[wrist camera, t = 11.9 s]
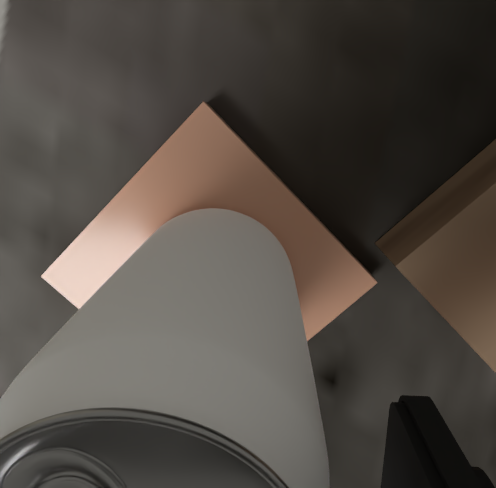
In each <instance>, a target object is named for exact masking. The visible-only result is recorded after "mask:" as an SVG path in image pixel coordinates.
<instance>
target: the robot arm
mask: <svg viewBox="0 0 496 488" xmlns="http://www.w3.org/2000/svg"><path fill="white" fill-rule="evenodd" d="M381 488H495V487H494V485H493V484H492V482H491V481H490V479H489V477H488V476H487V475H486V473H485V472H484V471H483V470H482V469H480V468H479V467H471V466H470V464H469V462H468V460H467V459H466V457H465V455H464V454H463V452H462V450H461V448H460V447H459V445H458V443H457V442H456V440H455V438H454V437H453V435H452V433H451V431H450V430H449V428H448V426H447V425H446V423H445V421H444V420H443V418H442V416H441V414H440V413H439V411H438V409H437V408H436V406H435V404H434V403H433V401H432V399H431V398H430V397H428V396H403V395H402V396H400V398H399V402H392V403H391V405H390V409H389V419H388V428H387V437H386V446H385V455H384V464H383V473H382V482H381Z"/></svg>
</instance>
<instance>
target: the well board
mask: <svg viewBox="0 0 496 488" xmlns="http://www.w3.org/2000/svg"><path fill="white" fill-rule="evenodd" d="M375 244H376V245H377V246H378V248H379V249H380V250H381V251H382V252H383V253H384V254H385V255H386V256H387V258H388V259H389V260H390V261H391V262H392V263H393V264H394V265H395V266H396V267H397V269H398V270H399V271H400V272H401V273H402V274H403V275H404V276H405V277H406V278H407V279H408V280H409V281H410V282H411V283H412V284H413V286H414V287H415V288H416V289H417V290H418V291H419V292H420V293H421V294H422V295H423V296H424V297H425V298H426V299H427V300H428V301H429V303H430V304H431V305H432V306H433V307H434V308H435V309H436V310H437V311H438V312H439V313H440V314H441V315H442V316H443V317H444V318H445V320H446V321H447V322H448V323H449V324H450V325H451V326H452V327H453V328H454V329H455V330H456V331H457V332H458V333H459V334H460V336H461V337H462V338H463V339H464V340H465V341H466V342H467V343H468V344H469V345H470V346H471V347H472V348H473V349H474V350H475V351H476V353H477V354H478V355H479V356H480V357H481V358H482V359H483V360H484V361H485V362H486V363H487V364H488V365H489V366H490V367H491V368H492V370H493V371H494V372H495V373H496V139H495V140H494V141H493V142H492V143H491V144H489V145H488V146H487V147H486V148H485V149H484V150H482V151H481V152H480V153H479V154H478V155H477V156H475V157H474V158H473V159H472V160H471V161H470V162H468V163H467V164H466V165H465V166H464V167H463V168H461V169H460V170H459V171H458V172H457V173H456V174H454V175H453V176H452V177H451V178H450V179H449V180H447V181H446V182H445V183H444V184H443V185H442V186H441V187H439V188H438V189H437V190H436V191H435V192H434V193H432V194H431V195H430V196H429V197H428V198H427V199H425V200H424V201H423V202H422V203H421V204H420V205H418V206H417V207H416V208H415V209H414V210H413V211H411V212H410V213H409V214H408V215H407V216H406V217H404V218H403V219H402V220H401V221H400V222H399V223H397V224H396V225H395V226H394V227H393V228H392V229H390V230H389V231H388V232H387V233H386V234H385V235H384V236H382V237H381V238H380V239H379V240H378V241H377V242H375Z"/></svg>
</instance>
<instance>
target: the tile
mask: <svg viewBox="0 0 496 488" xmlns="http://www.w3.org/2000/svg"><path fill="white" fill-rule="evenodd" d="M207 208H219V209H227V210H232V211H236V212H239V213H242V214H244V215H247V216H249V217H251V218H253V219H255V220H256V221H258V222H259V223H261V224H262V225H264V226H265V227H266V228H267V229H268V230H269V231H270V232H271V233H272V234H273V235H274V236H275V237H276V238H277V239H278V241H279V242H280V243H281V245H282V246H283V248H284V250H285V252H286V254H287V256H288V258H289V261H290V264H291V267H292V271H293V275H294V279H295V284H296V289H297V294H298V298H299V303H300V308H301V313H302V319H303V324H304V329H305V334H306V339H307V341H308V340H309V339H311V338H312V337H313V336H314V335H315V334H317V333H318V332H319V331H320V330H321V329H323V328H324V327H325V326H326V325H327V324H329V323H330V322H331V321H332V320H333V319H335V318H336V317H337V316H338V315H339V314H341V313H342V312H343V311H344V310H345V309H347V308H348V307H349V306H350V305H351V304H353V303H354V302H355V301H356V300H357V299H359V298H360V297H361V296H362V295H363V294H365V293H366V292H367V291H368V290H369V289H371V288H372V287H373V286H374V285H375V284H377V281H376V280H375V278H374V277H373V276H372V274H371V273H370V272H369V271H368V270H367V269H366V268H365V267H364V266H363V265H362V264H361V263H360V262H359V261H358V260H357V259H356V258H355V257H354V255H353V254H352V253H351V252H350V251H349V250H348V249H347V248H346V247H345V246H344V245H343V244H342V243H341V242H340V241H339V240H338V239H337V238H336V237H335V236H334V235H333V234H332V233H331V232H330V230H329V229H328V228H327V227H326V226H325V225H324V224H323V223H322V222H321V221H320V220H319V219H318V218H317V217H316V216H315V215H314V214H313V213H312V212H311V211H310V210H309V209H308V208H307V207H306V205H305V204H304V203H303V202H302V201H301V200H300V199H299V198H298V197H297V196H296V195H295V194H294V193H293V192H292V191H291V190H290V189H289V188H288V187H287V186H286V185H285V184H284V183H283V181H282V180H281V179H280V178H279V177H278V176H277V175H276V174H275V173H274V172H273V171H272V170H271V169H270V168H269V167H268V166H267V165H266V164H265V163H264V162H263V161H262V160H261V159H260V158H259V156H258V155H257V154H256V153H255V152H254V151H253V150H252V149H251V148H250V147H249V146H248V145H247V144H246V143H245V142H244V141H243V140H242V139H241V138H240V137H239V136H238V135H237V134H236V133H235V131H234V130H233V129H232V128H231V127H230V126H229V125H228V124H227V123H226V122H225V121H224V120H223V119H222V118H221V117H220V116H219V115H218V114H217V113H216V112H215V111H214V110H213V109H212V108H211V106H210V105H209V104H208V103H207V102H202V104H201V105H200V106H199V107H198V108H197V109H196V110H195V111H194V112H193V113H192V114H191V115H190V116H189V117H188V119H187V120H186V121H185V122H184V123H183V124H182V125H181V126H180V127H179V128H178V129H177V130H176V131H175V133H174V134H173V135H172V136H171V137H170V138H169V139H168V140H167V141H166V142H165V143H164V144H163V145H162V147H161V148H160V149H159V150H158V151H157V152H156V153H155V154H154V155H153V156H152V157H151V158H150V159H149V160H148V162H147V163H146V164H145V165H144V166H143V167H142V168H141V169H140V170H139V171H138V172H137V173H136V174H135V176H134V177H133V178H132V179H131V180H130V181H129V182H128V183H127V184H126V185H125V186H124V187H123V188H122V190H121V191H120V192H119V193H118V194H117V195H116V196H115V197H114V198H113V199H112V200H111V201H110V202H109V203H108V205H107V206H106V207H105V208H104V209H103V210H102V211H101V212H100V213H99V214H98V215H97V216H96V217H95V219H94V220H93V221H92V222H91V223H90V224H89V225H88V226H87V227H86V228H85V229H84V230H83V231H82V233H81V234H80V235H79V236H78V237H77V238H76V239H75V240H74V241H73V242H72V243H71V244H70V245H69V246H68V248H67V249H66V250H65V251H64V252H63V253H62V254H61V255H60V256H59V257H58V258H57V259H56V260H55V262H54V263H53V264H52V265H51V266H50V267H49V268H48V269H47V270H46V271H45V272H44V273H43V274H42V276H41V277H42V278H43V279H44V280H46V281H47V282H48V283H49V284H50V285H51V286H53V287H54V288H55V289H56V290H57V291H58V292H60V293H61V294H62V295H63V296H64V297H65V298H67V299H68V300H69V301H70V302H71V303H72V304H73V305H75V306H76V307H77V308H78V309H80V308H81V307H82V306H83V305H84V304H85V303H86V302H87V301H88V300H89V299H90V298H91V297H92V296H93V294H94V293H95V292H96V291H97V290H98V289H99V288H100V287H101V286H102V285H103V284H104V283H105V282H106V281H107V280H108V279H109V278H110V277H111V276H112V275H113V274H114V273H115V272H116V271H117V270H118V269H119V268H120V267H121V266H122V265H123V264H124V263H125V262H126V261H127V260H128V259H129V258H130V257H131V255H132V254H133V253H134V252H135V251H136V250H137V249H138V248H139V247H140V246H141V245H142V244H143V243H144V242H145V241H146V240H147V239H148V238H149V237H150V236H151V235H152V234H153V233H154V232H155V231H156V230H158V229H159V228H160V227H161V226H162V225H163V224H165V223H166V222H167V221H169V220H171V219H172V218H174V217H177V216H179V215H181V214H184V213H187V212H190V211H194V210H199V209H207Z"/></svg>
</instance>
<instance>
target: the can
mask: <svg viewBox="0 0 496 488" xmlns="http://www.w3.org/2000/svg"><path fill="white" fill-rule="evenodd" d="M0 488H330V482H329V463H328V455H327V448H326V442H325V435H324V429H323V424H322V418H321V413H320V407H319V402H318V396H317V391H316V386H315V381H314V375H313V370H312V365H311V360H310V354H309V349H308V344H307V339H306V334H305V329H304V324H303V319H302V313H301V308H300V303H299V298H298V294H297V289H296V284H295V279H294V275H293V271H292V267H291V264H290V261H289V258H288V256H287V254H286V252H285V250H284V248H283V246H282V245H281V243H280V242H279V241H278V239H277V238H276V237H275V236H274V235H273V234H272V233H271V232H270V231H269V230H268V229H267V228H266V227H265V226H264V225H262V224H261V223H259V222H258V221H256V220H255V219H253V218H251V217H249V216H247V215H244V214H242V213H239V212H236V211H232V210H227V209H219V208H207V209H199V210H194V211H190V212H187V213H184V214H181V215H179V216H177V217H174V218H172V219H171V220H169V221H167V222H166V223H165V224H163V225H162V226H161V227H160V228H159V229H158V230H156V231H155V232H154V233H153V234H152V235H151V236H150V237H149V238H148V239H147V240H146V241H145V242H144V243H143V244H142V245H141V246H140V247H139V248H138V249H137V250H136V251H135V252H134V253H133V254H132V255H131V257H130V258H129V259H128V260H127V261H126V262H125V263H124V264H123V265H122V266H121V267H120V268H119V269H118V270H117V271H116V272H115V273H114V274H113V275H112V276H111V277H110V278H109V279H108V280H107V281H106V282H105V283H104V284H103V285H102V286H101V287H100V288H99V289H98V290H97V291H96V292H95V293H94V294H93V296H92V297H91V298H90V299H89V300H88V301H87V302H86V303H85V304H84V305H83V306H82V307H81V308H80V309H79V310H78V311H77V312H76V313H75V314H74V315H73V316H72V317H71V318H70V319H69V320H68V321H67V322H66V324H65V325H64V326H63V327H62V328H61V329H60V330H59V331H58V332H57V333H56V334H55V335H54V336H53V337H52V338H51V339H50V340H49V341H48V342H47V344H46V345H45V346H44V347H43V348H42V349H41V350H40V351H39V352H38V353H37V354H36V355H35V356H34V357H33V359H32V360H31V361H30V362H29V363H28V364H27V365H26V366H25V368H24V369H23V370H22V371H21V372H20V373H19V374H18V375H17V377H16V378H15V379H14V381H13V382H12V383H11V385H10V386H9V387H8V389H7V390H6V391H5V393H4V394H3V396H2V397H1V399H0Z"/></svg>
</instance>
